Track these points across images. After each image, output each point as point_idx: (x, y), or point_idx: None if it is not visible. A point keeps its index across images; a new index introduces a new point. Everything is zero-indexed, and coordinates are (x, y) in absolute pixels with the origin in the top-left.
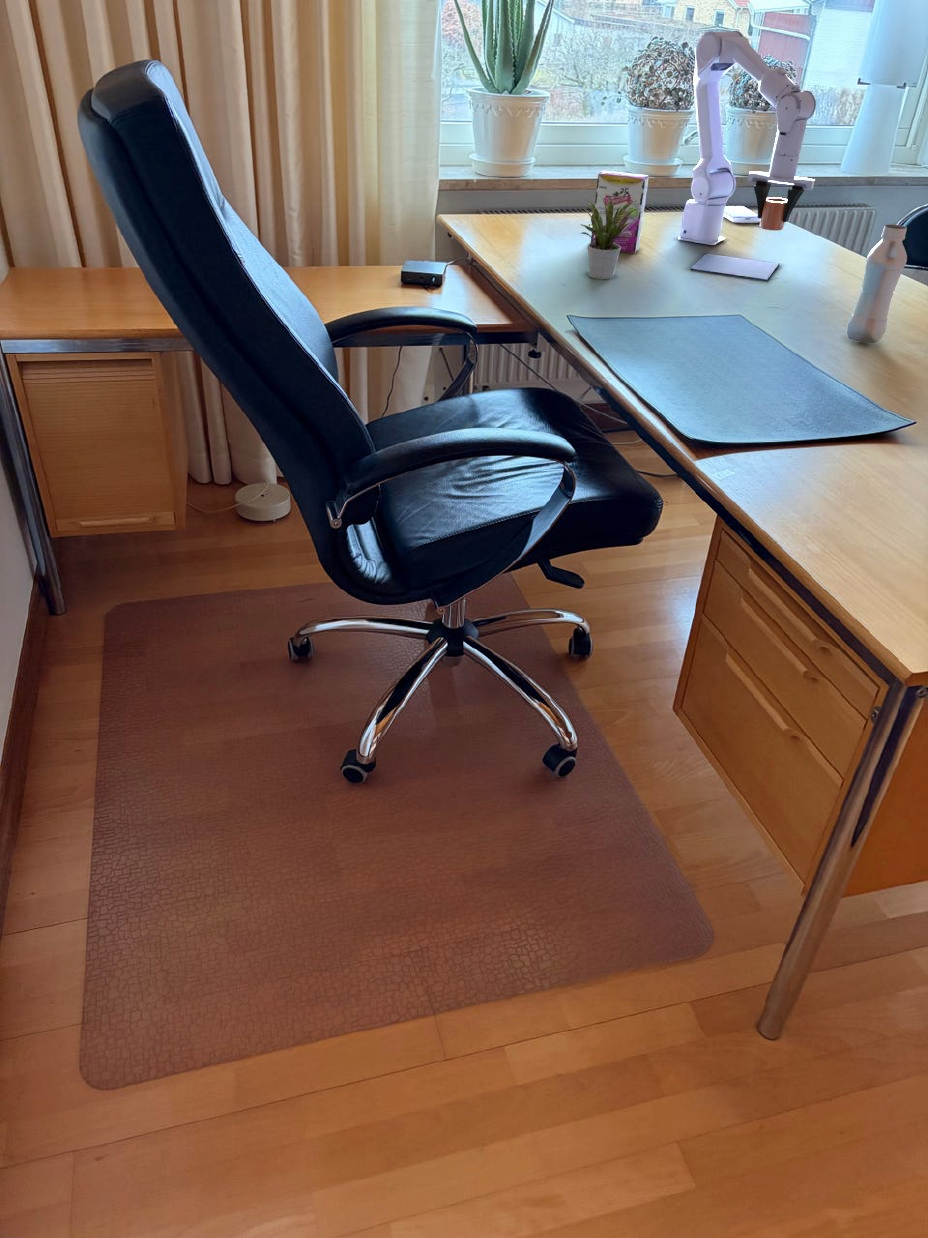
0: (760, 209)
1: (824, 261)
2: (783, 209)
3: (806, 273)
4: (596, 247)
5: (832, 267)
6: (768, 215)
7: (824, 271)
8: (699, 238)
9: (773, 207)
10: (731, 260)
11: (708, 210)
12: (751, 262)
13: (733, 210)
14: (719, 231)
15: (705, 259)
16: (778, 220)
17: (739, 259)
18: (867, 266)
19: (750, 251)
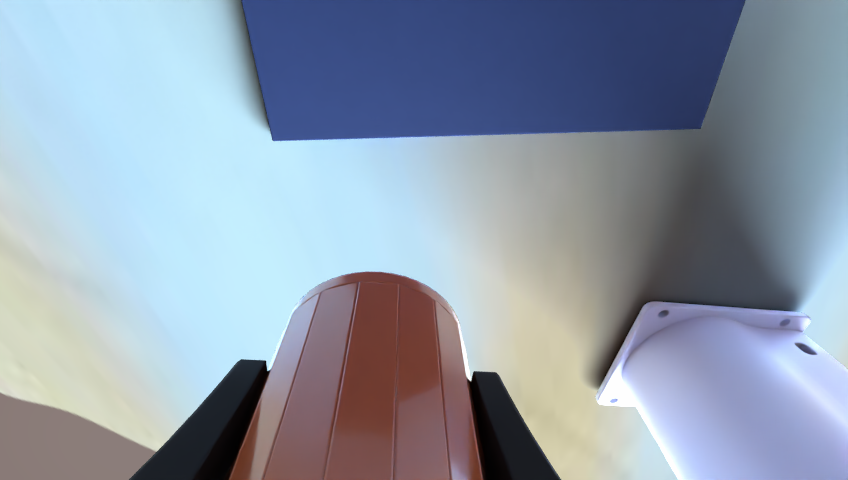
0: (502, 431)
1: (136, 316)
2: (234, 459)
3: (46, 25)
4: None
5: (41, 243)
6: (390, 355)
7: (9, 142)
8: (724, 322)
9: (340, 438)
10: (546, 45)
11: (823, 447)
12: (421, 69)
13: None
14: (648, 387)
15: None
16: (291, 345)
17: (501, 101)
18: None
19: (472, 303)
